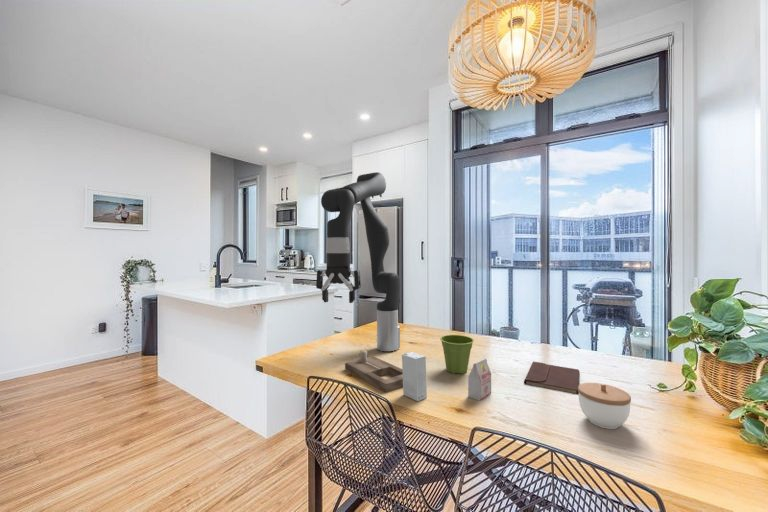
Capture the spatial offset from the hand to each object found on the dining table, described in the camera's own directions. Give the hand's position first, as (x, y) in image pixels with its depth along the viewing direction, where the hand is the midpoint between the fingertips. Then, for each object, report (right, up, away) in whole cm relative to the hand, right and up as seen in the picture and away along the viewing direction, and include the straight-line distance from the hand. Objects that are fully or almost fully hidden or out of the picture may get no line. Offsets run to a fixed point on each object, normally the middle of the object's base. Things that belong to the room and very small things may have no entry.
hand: (338, 302), depth 104 cm
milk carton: (+43, -26, -9) cm, 51 cm away
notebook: (+71, -26, +4) cm, 76 cm away
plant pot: (+41, -26, +11) cm, 49 cm away
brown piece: (+13, -26, +6) cm, 29 cm away
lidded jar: (+69, -26, -25) cm, 77 cm away
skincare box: (+23, -26, -10) cm, 37 cm away
